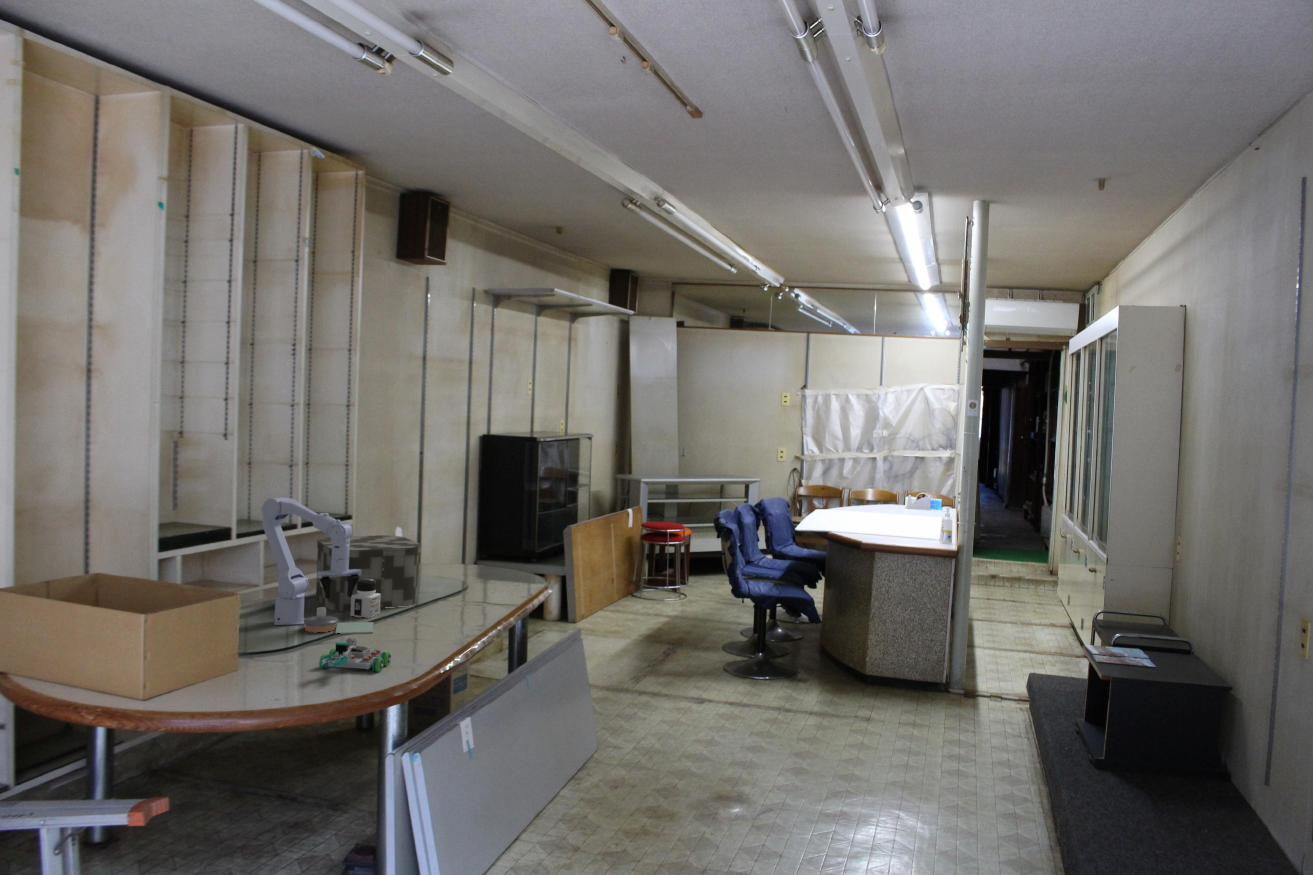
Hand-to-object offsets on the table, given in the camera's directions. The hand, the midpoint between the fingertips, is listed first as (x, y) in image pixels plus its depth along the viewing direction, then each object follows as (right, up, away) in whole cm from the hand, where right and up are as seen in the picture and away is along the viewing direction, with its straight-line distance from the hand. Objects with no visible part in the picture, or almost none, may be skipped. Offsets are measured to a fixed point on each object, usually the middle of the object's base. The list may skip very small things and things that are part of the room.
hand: (338, 597), depth 310 cm
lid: (-4, -8, -4) cm, 10 cm away
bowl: (-5, -10, -4) cm, 12 cm away
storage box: (-4, -9, +44) cm, 45 cm away
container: (+3, -10, +19) cm, 22 cm away
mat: (+6, -11, -1) cm, 12 cm away
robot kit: (+21, -13, -49) cm, 55 cm away
